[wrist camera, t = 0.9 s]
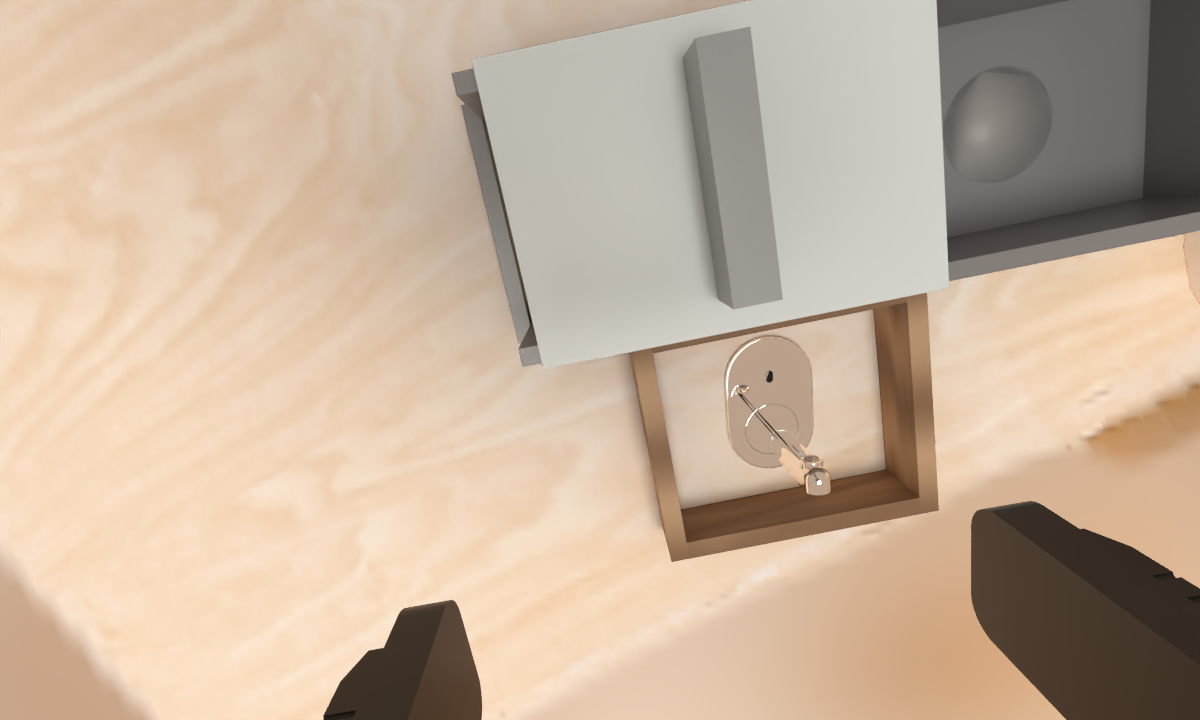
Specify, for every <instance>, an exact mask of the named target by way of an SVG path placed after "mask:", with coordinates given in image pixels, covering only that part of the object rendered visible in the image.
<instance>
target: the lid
mask: <svg viewBox="0 0 1200 720" xmlns="http://www.w3.org/2000/svg"><path fill="white" fill-rule="evenodd" d="M471 61H472V65H473V69H474V73H475V78H476V82H477V86H478V91H479V95H480V99H481V103H482V108H483V112H484V116H485V121H486V125H487V129H488V134H489V138H490V142H491V146H492V151H493V155H494V159H495V164H496V168H497V172H498V176H499V181H500V185H501V189H502V194H503V198H504V202H505V206H506V211H507V215H508V219H509V224H510V228H511V232H512V237H513V241H514V245H515V249H516V254H517V258H518V262H519V267H520V271H521V275H522V279H523V284H524V288H525V292H526V297H527V301H528V305H529V309H530V314H531V318H532V322H533V327H534V331H535V335H536V340H537V344H538V348H539V352H540V357H541V361H542V365H543V370H544V369H549V368H554V367H559V366H564V365H569V364H574V363H579V362H584V361H589V360H594V359H599V358H604V357H609V356H614V355H619V354H624V353H629V352H633V351H638V350H643V349H648V348H653V347H658V346H663V345H668V344H673V343H678V342H683V341H688V340H693V339H698V338H703V337H708V336H713V335H718V334H723V333H728V332H733V331H738V330H743V329H748V328H753V327H758V326H763V325H768V324H773V323H778V322H783V321H788V320H793V319H798V318H803V317H808V316H813V315H818V314H823V313H828V312H833V311H838V310H843V309H848V308H853V307H858V306H862V305H867V304H872V303H877V302H882V301H887V300H892V299H897V298H902V297H907V296H912V295H917V294H922V293H927V292H932V291H937V290H942V289H947V288H949V271H948V249H947V226H946V204H945V181H944V159H943V136H942V114H941V92H940V69H939V47H938V24H937V2H936V0H749V1H744V2H739V3H734V4H730V5H725V6H720V7H716V8H711V9H706V10H702V11H697V12H692V13H687V14H683V15H678V16H673V17H669V18H664V19H659V20H654V21H650V22H645V23H640V24H636V25H631V26H626V27H622V28H617V29H612V30H607V31H603V32H598V33H593V34H589V35H584V36H579V37H574V38H570V39H565V40H560V41H556V42H551V43H546V44H542V45H537V46H532V47H527V48H523V49H518V50H513V51H509V52H504V53H499V54H494V55H490V56H485V57H480V58H476V59H471Z"/></svg>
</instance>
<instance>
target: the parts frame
mask: <svg viewBox="0 0 1200 720" xmlns="http://www.w3.org/2000/svg"><path fill="white" fill-rule="evenodd" d="M872 309H874V318H875V331H876V343H877V356H878V369H879V381H880V394H881V407H882V420H883V432H884V445H885V458H886V470H884V471H879V472H874V473H869V474H864V475H859V476H854V477H848V478H843V479H838V480H833V481H831V492H830V493H828V494H826V495H811V494H808V493H806V492H805V491H804V490H803V489H802V488H801V487H797V488H792V489H787V490H782V491H777V492H771V493H766V494H761V495H756V496H751V497H746V498H741V499H736V500H730V501H725V502H720V503H715V504H710V505H705V506H700V507H694V508H689V509H684V510H681V509H680V504H679V498H678V493H677V487H676V482H675V476H674V471H673V465H672V460H671V454H670V449H669V443H668V437H667V432H666V426H665V421H664V415H663V410H662V404H661V399H660V393H659V388H658V382H657V377H656V371H655V366H654V360H653V355H652V353H657V352H662V351H667V350H672V349H677V348H682V347H687V346H692V345H697V344H702V343H707V342H712V341H717V340H722V339H727V338H732V337H737V336H742V335H747V334H752V333H757V332H762V331H767V330H772V329H777V328H782V327H787V326H792V325H797V324H802V323H807V322H812V321H817V320H822V319H827V318H832V317H837V316H842V315H847V314H852V313H857V312H862V311H867V310H872ZM629 353H630V358H631V363H632V368H633V374H634V379H635V384H636V389H637V395H638V400H639V405H640V410H641V415H642V421H643V426H644V431H645V436H646V441H647V447H648V452H649V457H650V462H651V468H652V473H653V478H654V483H655V488H656V494H657V499H658V504H659V509H660V514H661V520H662V525H663V530H664V533H665V537H666V541H667V545H668V549H669V553H670V557H671V561H672V562H674V561H679V560H684V559H689V558H695V557H700V556H705V555H710V554H715V553H720V552H726V551H731V550H736V549H741V548H746V547H752V546H757V545H762V544H767V543H772V542H777V541H783V540H788V539H793V538H798V537H803V536H809V535H814V534H819V533H824V532H829V531H834V530H840V529H845V528H850V527H855V526H860V525H865V524H871V523H876V522H881V521H886V520H891V519H897V518H902V517H907V516H912V515H917V514H922V513H928V512H933V511H938V510H939V508H938V490H937V471H936V453H935V435H934V416H933V398H932V380H931V361H930V343H929V325H928V306H927V293H922V294H917V295H912V296H907V297H902V298H897V299H892V300H887V301H882V302H877V303H872V304H867V305H862V306H858V307H853V308H848V309H843V310H838V311H833V312H828V313H823V314H818V315H813V316H808V317H803V318H798V319H793V320H788V321H783V322H778V323H773V324H768V325H763V326H758V327H753V328H748V329H743V330H738V331H733V332H728V333H723V334H718V335H713V336H708V337H703V338H698V339H693V340H688V341H683V342H678V343H673V344H668V345H663V346H658V347H653V348H648V349H643V350H638V351H633V352H629Z"/></svg>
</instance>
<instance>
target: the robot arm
mask: <svg viewBox="0 0 1200 720" xmlns="http://www.w3.org/2000/svg"><path fill="white" fill-rule="evenodd" d="M971 596H972V603H973V606H974V610H975V613H976V616H977V618H978V620H979V622H980V624H981V626H982V628H983V630H984V631H985V633H986V634H987V636H988V637H989V638H990V639H991V641H992V642H993V643H994V644H995V645H996V646H997V647H998V648H999V649H1000V650H1001V651H1002V652H1003V653H1004V654H1005V656H1006V657H1007V658H1008V659H1009V660H1010V661H1011V662H1012V663H1013V664H1014V665H1015V666H1016V667H1017V668H1018V669H1019V670H1020V671H1021V672H1022V673H1023V674H1024V675H1025V677H1026V678H1027V679H1028V680H1029V681H1030V682H1031V683H1032V684H1033V685H1034V686H1035V687H1036V688H1037V689H1038V690H1039V691H1040V692H1041V693H1042V694H1043V695H1044V697H1045V698H1046V699H1047V700H1048V701H1049V702H1050V703H1051V704H1052V705H1053V706H1054V707H1055V708H1056V709H1057V710H1058V711H1059V712H1060V713H1061V714H1062V715H1063V717H1064V718H1066V720H1200V589H1199V588H1198V587H1196V586H1195V585H1193V584H1191V583H1189V582H1188V581H1186V580H1185V579H1183V578H1181V577H1180V578H1175V576H1174V575H1173V572H1172V571H1170V570H1169V569H1167V568H1165V567H1164V566H1162V565H1160V564H1159V563H1157V562H1155V561H1154V560H1152V559H1151V558H1149V557H1147V556H1145V555H1144V554H1142V553H1141V552H1139V551H1138V550H1136V549H1134V548H1133V547H1131V546H1128V545H1125V544H1123V543H1120V542H1117V541H1115V540H1112V539H1110V538H1107V537H1104V536H1102V535H1099V534H1096V533H1094V532H1091V531H1089V530H1086V529H1079V528H1077V527H1076V526H1074V525H1072V524H1071V523H1069V522H1068V521H1066V520H1065V519H1063V518H1061V517H1060V516H1058V515H1057V514H1055V513H1054V512H1052V511H1051V510H1049V509H1047V508H1046V507H1044V506H1043V505H1041V504H1039V503H1036V502H1033V501H1028V502H1021V503H1016V504H1010V505H1004V506H999V507H993V508H987V509H981V510H978V511H976V513H975V514H974V516H973V518H972V524H971ZM323 717H324V720H481V718H482V697H481V687H480V681H479V677H478V674H477V670H476V667H475V663H474V660H473V656H472V652H471V649H470V645H469V642H468V638H467V635H466V631H465V628H464V624H463V621H462V617H461V614H460V611H459V608H458V606H457V604H456V602H454V601H453V600H449V601H443V602H437V603H432V604H426V605H420V606H414V607H409V608H404V609H403V610H402V611H401V612H400V613H399V615H398V617H397V620H396V622H395V624H394V626H393V629H392V631H391V633H390V635H389V638H388V640H387V642H386V644H385V647H384V648H381V649H376V650H370V651H368V652H367V653H366V654H365V655H364V656H363V657H362V659H361V660H360V661H359V662H358V663H357V664H356V665H355V666H354V667H353V668H352V670H351V671H350V672H349V673H348V674H347V675H346V676H345V677H344V678H343V679H342V681H341V682H340V684H339V686H338V688H337V690H336V692H335V694H334V696H333V698H332V700H331V702H330V704H329V706H328V708H327V710H326V712H325V714H324V716H323Z"/></svg>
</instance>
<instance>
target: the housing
mask: <svg viewBox="0 0 1200 720" xmlns="http://www.w3.org/2000/svg"><path fill="white" fill-rule="evenodd" d="M936 2H937V24H938V47H939V69H940V92H941V114H942V136H943V159H944V181H945V204H946V226H947V249H948V271H949V281H952V280H957V279H962V278H967V277H972V276H977V275H982V274H987V273H992V272H997V271H1002V270H1007V269H1012V268H1017V267H1022V266H1027V265H1032V264H1037V263H1042V262H1047V261H1052V260H1057V259H1061V258H1066V257H1071V256H1076V255H1081V254H1086V253H1091V252H1096V251H1101V250H1106V249H1111V248H1116V247H1121V246H1126V245H1131V244H1136V243H1141V242H1146V241H1151V240H1156V239H1161V238H1166V237H1171V236H1176V235H1181V234H1186V233H1191V232H1196V231H1200V0H936ZM452 77H453V81H454V85H455V89H456V94H457V96H458V97H459V98H460V99H461V100H462V101H463V102H464V103H465V105H461V107H462V111H463V115H464V119H465V123H466V127H467V131H468V136H469V140H470V144H471V148H472V152H473V156H474V160H475V165H476V169H477V173H478V177H479V181H480V185H481V189H482V194H483V198H484V202H485V206H486V210H487V214H488V218H489V223H490V227H491V231H492V235H493V239H494V243H495V247H496V252H497V256H498V260H499V264H500V268H501V272H502V276H503V281H504V285H505V289H506V293H507V297H508V301H509V305H510V310H511V314H512V318H513V322H514V326H515V330H516V334H517V339H518V343H521V342H522V343H521V345H520V347H519V354H520V358H521V362H522V366H523V367H524V366H529V365H534V364H539V363H542V361H541V357H540V352H539V348H538V344H537V340H536V335H535V331H534V327H533V322H532V318H531V314H530V309H529V305H528V301H527V297H526V292H525V288H524V284H523V279H522V275H521V271H520V267H519V262H518V258H517V254H516V249H515V245H514V241H513V237H512V232H511V228H510V224H509V219H508V215H507V211H506V206H505V202H504V198H503V194H502V189H501V185H500V181H499V176H498V172H497V168H496V164H495V159H494V155H493V151H492V146H491V142H490V138H489V134H488V129H487V125H486V121H485V116H484V112H483V108H482V103H481V99H480V95H479V91H478V86H477V82H476V78H475V73H474V69H470V70H465V71H461V72H456V73H452Z"/></svg>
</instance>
